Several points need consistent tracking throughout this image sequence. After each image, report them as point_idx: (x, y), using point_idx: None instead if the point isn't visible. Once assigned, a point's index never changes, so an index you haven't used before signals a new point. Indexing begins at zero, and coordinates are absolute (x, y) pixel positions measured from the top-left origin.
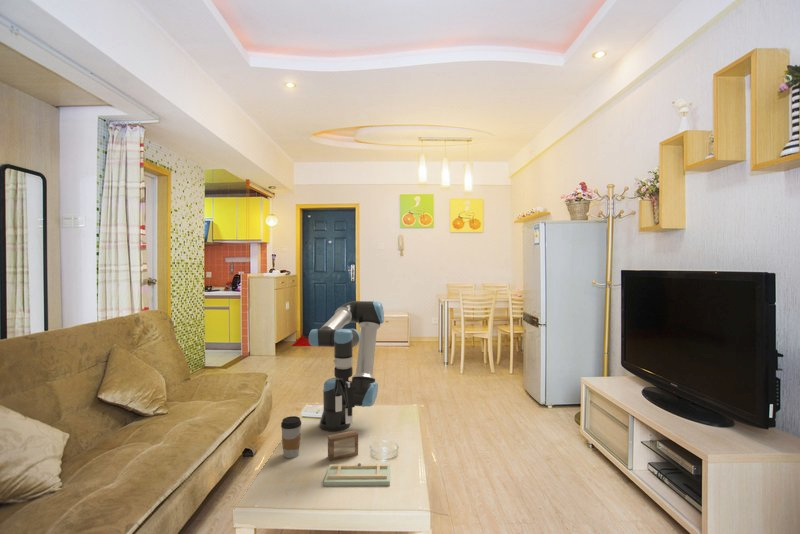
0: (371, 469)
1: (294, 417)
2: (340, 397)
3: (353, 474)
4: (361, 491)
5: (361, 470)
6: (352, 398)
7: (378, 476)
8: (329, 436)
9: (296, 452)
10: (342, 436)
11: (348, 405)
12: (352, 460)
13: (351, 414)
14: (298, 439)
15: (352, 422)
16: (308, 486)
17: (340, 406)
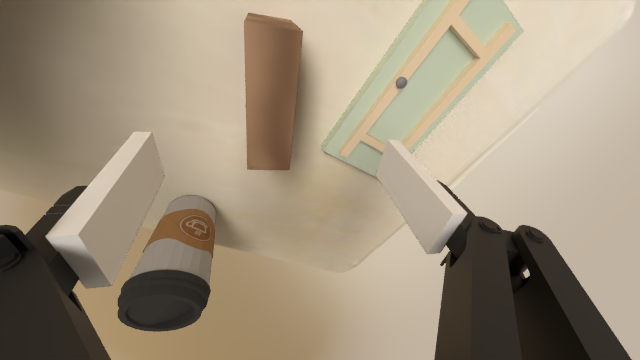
0: (434, 47)
1: (130, 305)
2: (95, 236)
3: (426, 120)
4: (462, 113)
5: (413, 81)
6: (584, 312)
7: (490, 57)
8: (259, 166)
9: (210, 210)
10: (287, 119)
11: (511, 279)
12: (317, 63)
13: (445, 189)
14: (202, 235)
15: (399, 141)
16: (361, 200)
17: (140, 167)
